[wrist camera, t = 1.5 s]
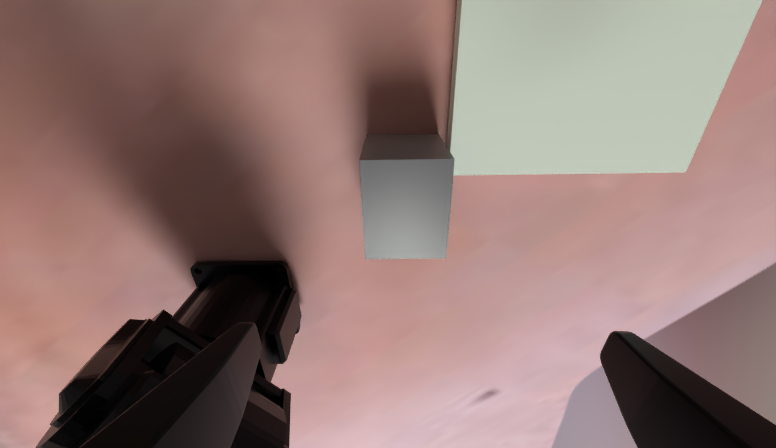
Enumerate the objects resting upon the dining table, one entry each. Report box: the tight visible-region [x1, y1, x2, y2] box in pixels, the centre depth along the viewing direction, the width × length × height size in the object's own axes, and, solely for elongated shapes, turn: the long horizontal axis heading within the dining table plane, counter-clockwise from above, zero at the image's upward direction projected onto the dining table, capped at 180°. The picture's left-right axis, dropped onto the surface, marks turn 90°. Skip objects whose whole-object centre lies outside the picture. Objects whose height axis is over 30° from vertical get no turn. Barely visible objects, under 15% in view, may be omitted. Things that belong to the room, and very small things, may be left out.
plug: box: [359, 134, 455, 259], centre depth 17 cm, size 4×5×5 cm
